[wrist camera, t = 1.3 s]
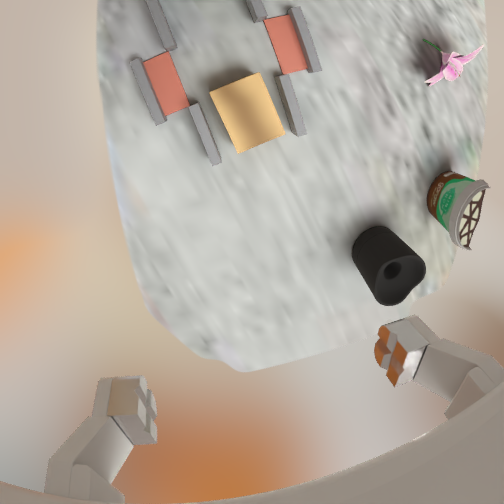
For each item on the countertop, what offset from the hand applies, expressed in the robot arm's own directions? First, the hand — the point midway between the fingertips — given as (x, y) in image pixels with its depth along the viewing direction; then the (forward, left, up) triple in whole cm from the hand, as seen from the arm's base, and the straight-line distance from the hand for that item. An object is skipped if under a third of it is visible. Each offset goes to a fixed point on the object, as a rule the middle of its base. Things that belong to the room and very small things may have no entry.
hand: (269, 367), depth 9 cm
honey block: (-4, -4, -34) cm, 34 cm away
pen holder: (-18, +24, -34) cm, 45 cm away
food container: (-32, +18, -34) cm, 50 cm away
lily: (-35, -4, -34) cm, 49 cm away
